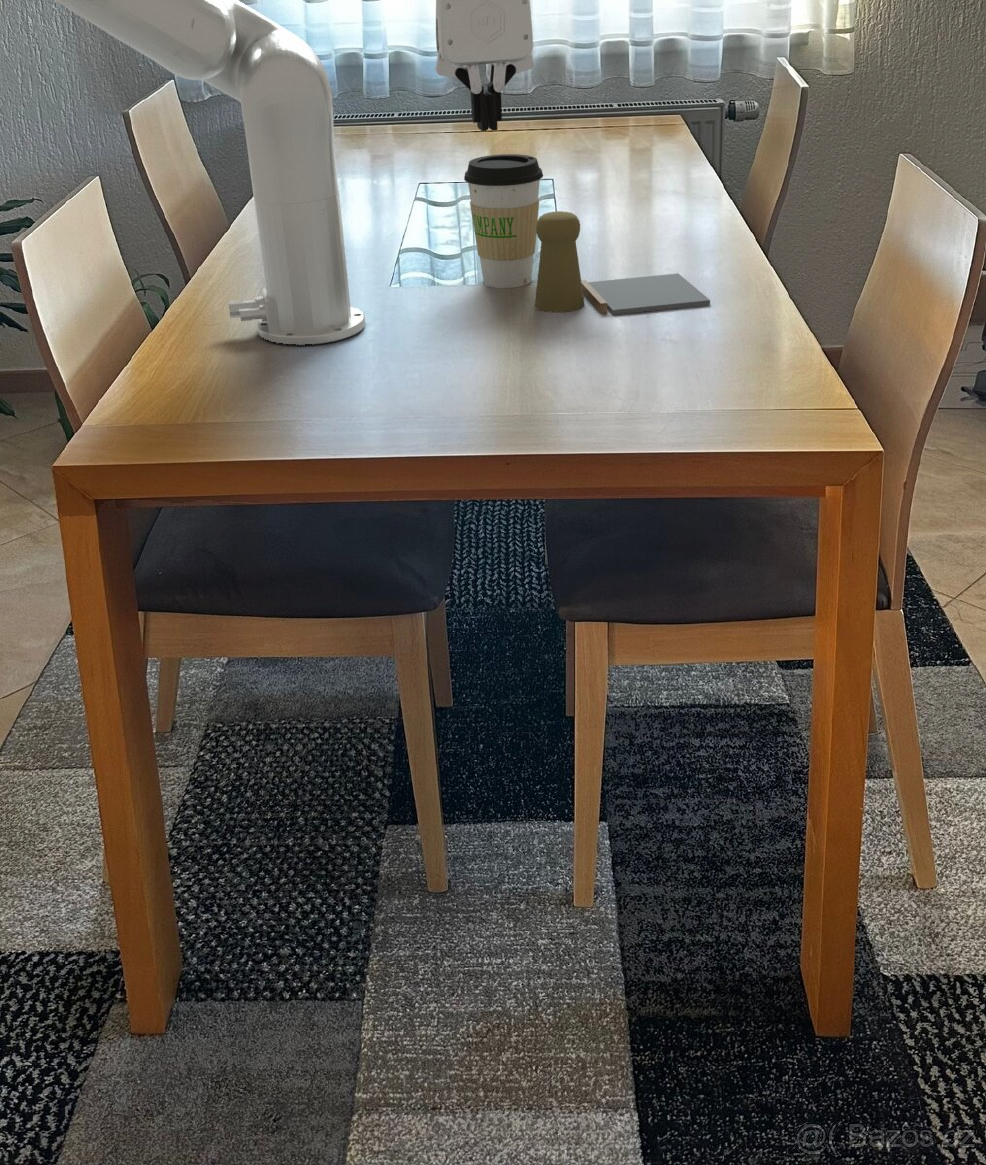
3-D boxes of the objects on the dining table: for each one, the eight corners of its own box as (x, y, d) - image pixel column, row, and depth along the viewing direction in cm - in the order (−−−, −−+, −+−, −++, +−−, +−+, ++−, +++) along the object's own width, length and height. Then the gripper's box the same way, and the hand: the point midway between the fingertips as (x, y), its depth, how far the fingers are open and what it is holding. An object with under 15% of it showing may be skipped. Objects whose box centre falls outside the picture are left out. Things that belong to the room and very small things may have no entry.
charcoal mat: (612, 314, 152) (612, 309, 152) (586, 286, 162) (586, 282, 162) (709, 304, 154) (710, 300, 153) (678, 277, 164) (678, 273, 164)
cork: (581, 296, 159) (581, 205, 154) (586, 310, 154) (586, 217, 148) (533, 298, 159) (530, 208, 153) (536, 313, 154) (533, 220, 148)
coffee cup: (460, 276, 169) (453, 157, 162) (530, 266, 171) (527, 150, 164) (482, 296, 161) (476, 172, 153) (556, 286, 163) (554, 164, 156)
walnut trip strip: (600, 313, 152) (600, 303, 152) (579, 290, 161) (579, 280, 160) (607, 312, 153) (607, 302, 152) (585, 289, 161) (585, 280, 161)
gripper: (414, -47, 132) (426, 140, 140) (557, -56, 134) (560, 129, 143) (404, -51, 138) (416, 128, 147) (541, -59, 140) (544, 118, 149)
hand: (487, 128), depth 145 cm, fingers closed
